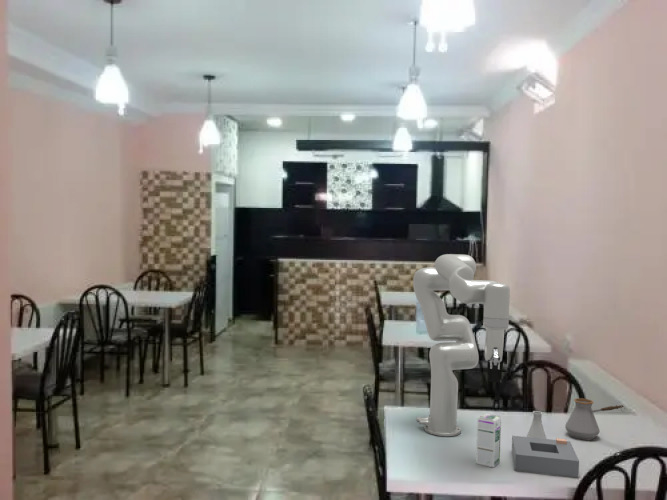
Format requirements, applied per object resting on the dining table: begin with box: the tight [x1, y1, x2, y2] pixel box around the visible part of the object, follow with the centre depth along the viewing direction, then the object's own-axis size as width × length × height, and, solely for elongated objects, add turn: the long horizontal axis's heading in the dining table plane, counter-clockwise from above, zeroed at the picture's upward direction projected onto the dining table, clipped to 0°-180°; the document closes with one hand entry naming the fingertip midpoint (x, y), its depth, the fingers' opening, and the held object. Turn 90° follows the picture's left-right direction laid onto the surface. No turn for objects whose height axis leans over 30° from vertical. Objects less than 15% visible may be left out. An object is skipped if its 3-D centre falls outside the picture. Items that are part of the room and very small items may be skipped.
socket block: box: [511, 435, 580, 479], centre depth 200 cm, size 18×18×6 cm
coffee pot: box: [565, 397, 626, 441], centre depth 224 cm, size 21×12×15 cm, turn 32°
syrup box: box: [475, 413, 502, 468], centre depth 199 cm, size 6×6×14 cm
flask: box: [526, 410, 547, 439], centre depth 222 cm, size 7×7×10 cm
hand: (493, 378), depth 198 cm, fingers open, 9 cm apart
